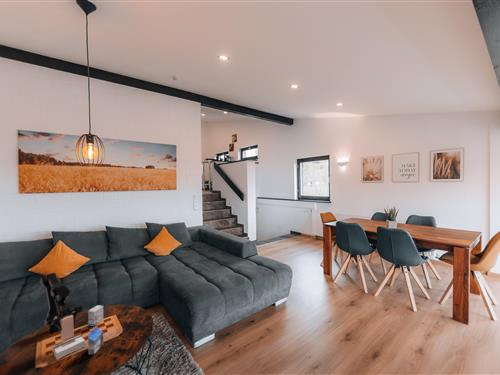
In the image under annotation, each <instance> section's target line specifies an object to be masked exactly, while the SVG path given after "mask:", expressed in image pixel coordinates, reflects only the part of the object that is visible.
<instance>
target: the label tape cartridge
mask: <svg viewBox="0 0 500 375" xmlns="http://www.w3.org/2000/svg"><path fill="white" fill-rule="evenodd" d="M87 340H88V342H87V344H88V346H87V350H88V351H87V352H88V355H95V354H96V353H97V352H98V351H99V350H100V349H101V347H103V346H104V331H102V330H100V329H99V328H98V325H97V326H96V327H94V328H93V329H92V330H91V331H90V332H89V333H88V334H87Z"/></svg>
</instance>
